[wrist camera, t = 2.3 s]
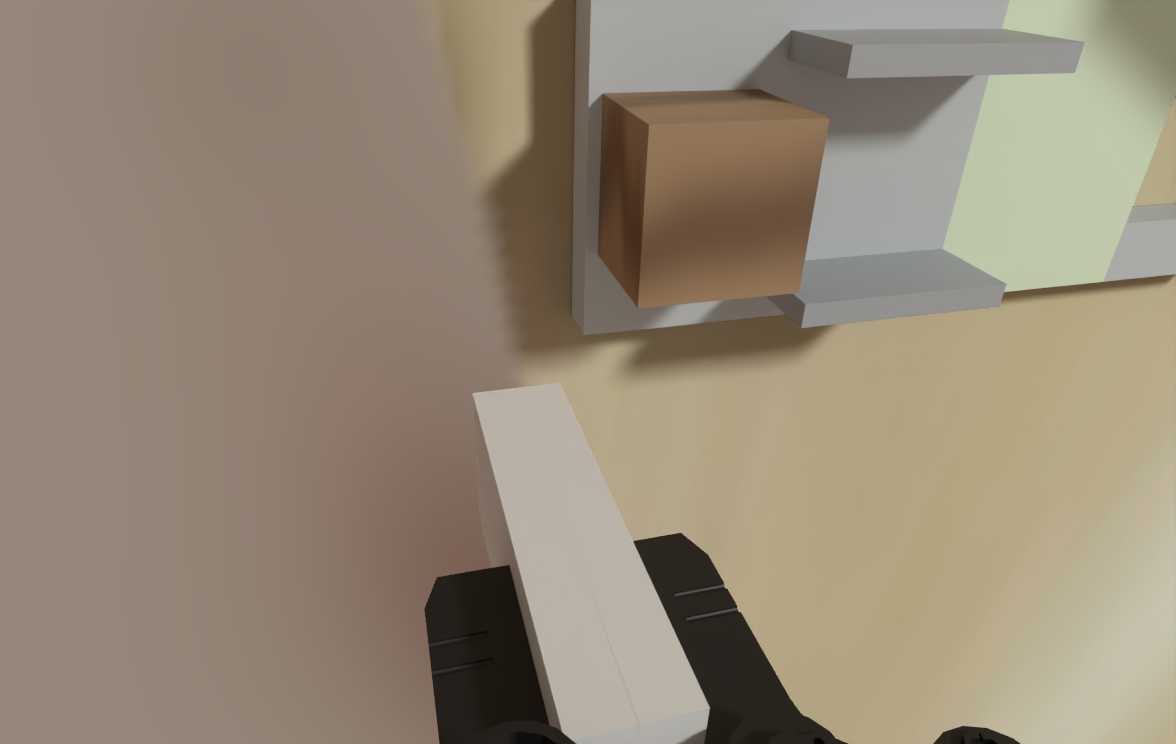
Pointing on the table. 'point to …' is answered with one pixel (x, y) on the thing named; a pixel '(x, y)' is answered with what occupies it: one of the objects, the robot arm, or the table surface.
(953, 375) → the table surface
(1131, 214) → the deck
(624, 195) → the block
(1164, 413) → the table surface
